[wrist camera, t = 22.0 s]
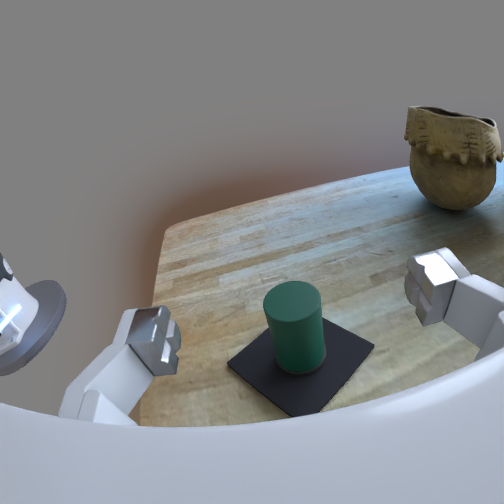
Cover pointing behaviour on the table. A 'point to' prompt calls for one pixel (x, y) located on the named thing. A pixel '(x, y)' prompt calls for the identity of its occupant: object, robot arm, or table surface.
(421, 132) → the clay pot
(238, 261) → the table surface
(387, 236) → the table surface
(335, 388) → the mat
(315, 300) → the thermos cap
